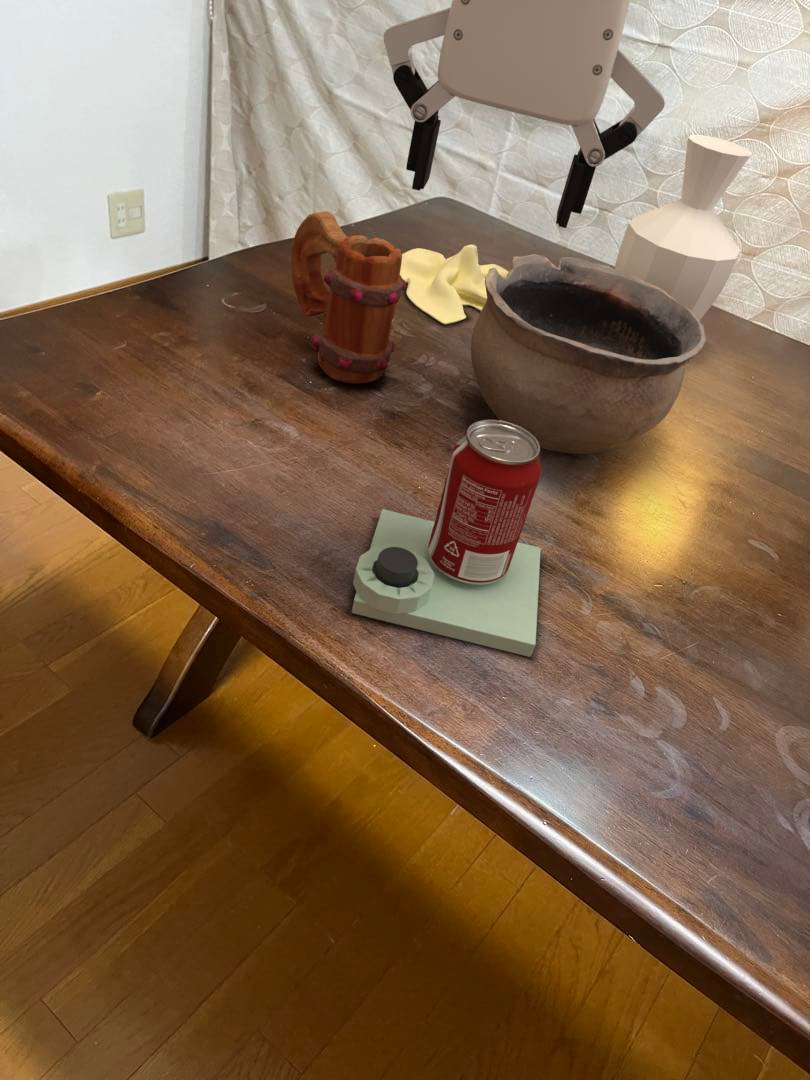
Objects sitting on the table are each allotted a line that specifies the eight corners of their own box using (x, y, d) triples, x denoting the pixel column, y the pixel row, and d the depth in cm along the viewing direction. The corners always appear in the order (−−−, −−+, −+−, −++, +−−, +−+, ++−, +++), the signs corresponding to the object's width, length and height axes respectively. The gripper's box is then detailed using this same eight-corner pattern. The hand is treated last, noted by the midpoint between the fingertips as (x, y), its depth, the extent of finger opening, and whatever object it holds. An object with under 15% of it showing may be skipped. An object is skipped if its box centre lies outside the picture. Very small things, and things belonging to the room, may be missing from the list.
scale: (344, 615, 65) (349, 586, 63) (374, 519, 75) (380, 492, 73) (530, 661, 65) (541, 634, 63) (536, 559, 75) (546, 533, 73)
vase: (660, 316, 124) (733, 132, 108) (716, 366, 114) (805, 171, 98) (575, 313, 119) (638, 120, 103) (625, 365, 109) (704, 160, 93)
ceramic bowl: (538, 362, 105) (576, 241, 95) (689, 451, 94) (748, 326, 85) (411, 406, 91) (440, 270, 82) (572, 517, 81) (627, 376, 71)
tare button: (371, 582, 65) (375, 567, 64) (379, 558, 67) (382, 542, 66) (410, 592, 65) (414, 577, 64) (416, 567, 67) (420, 552, 66)
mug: (406, 383, 95) (433, 250, 85) (353, 402, 89) (376, 262, 80) (316, 327, 101) (332, 197, 92) (262, 342, 96) (274, 206, 87)
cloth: (384, 249, 124) (392, 206, 120) (508, 268, 127) (519, 226, 124) (397, 318, 107) (406, 271, 103) (539, 337, 110) (553, 292, 107)
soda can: (510, 596, 68) (554, 473, 61) (426, 584, 67) (460, 458, 60) (503, 542, 73) (543, 423, 66) (425, 530, 73) (456, 408, 65)
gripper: (719, -80, 49) (616, 218, 60) (425, -153, 49) (375, 156, 60) (736, -76, 43) (619, 254, 54) (403, -159, 44) (351, 186, 54)
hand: (490, 202), depth 57 cm, fingers open, 9 cm apart
